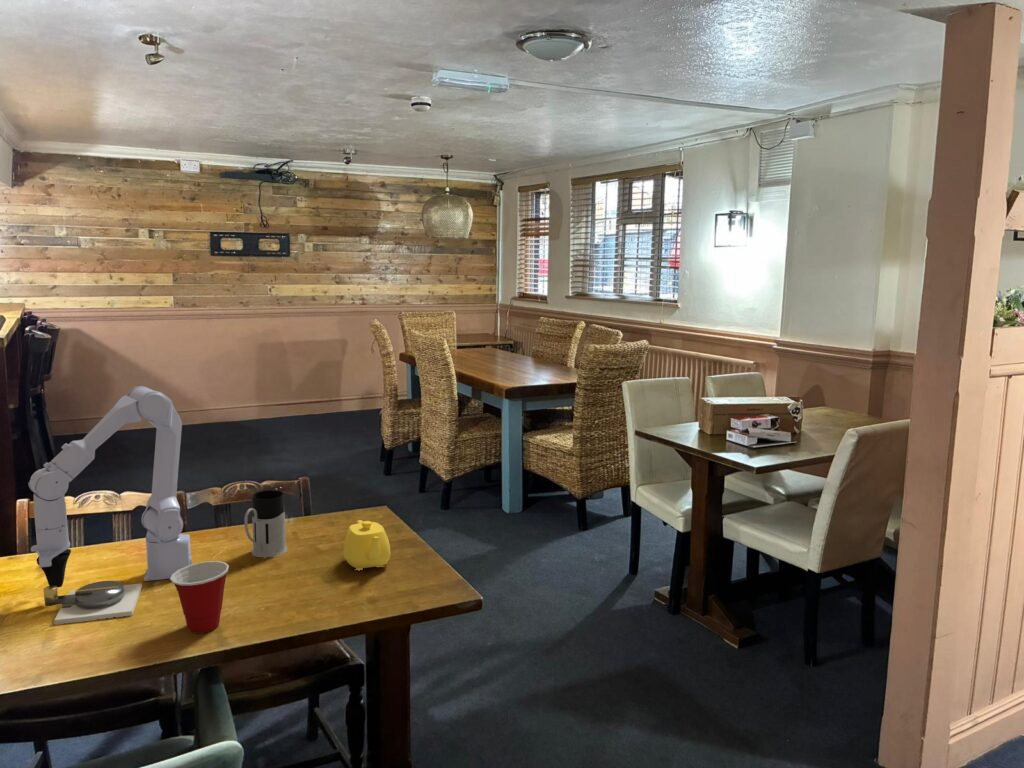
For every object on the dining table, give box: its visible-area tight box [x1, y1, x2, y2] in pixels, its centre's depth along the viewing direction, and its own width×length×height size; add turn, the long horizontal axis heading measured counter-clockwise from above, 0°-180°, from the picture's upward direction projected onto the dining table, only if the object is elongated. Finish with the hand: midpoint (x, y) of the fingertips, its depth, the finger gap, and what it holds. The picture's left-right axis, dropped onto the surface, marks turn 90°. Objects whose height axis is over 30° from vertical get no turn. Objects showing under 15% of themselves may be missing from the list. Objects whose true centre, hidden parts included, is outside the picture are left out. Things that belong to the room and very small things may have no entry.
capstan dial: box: [43, 580, 125, 608], centre depth 156 cm, size 15×9×4 cm, turn 108°
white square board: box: [53, 583, 143, 626], centre depth 157 cm, size 14×14×1 cm
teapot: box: [342, 519, 391, 569], centre depth 180 cm, size 18×11×11 cm, turn 25°
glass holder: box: [243, 489, 288, 559], centre depth 185 cm, size 9×14×15 cm, turn 166°
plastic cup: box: [169, 560, 230, 634], centre depth 148 cm, size 11×11×12 cm
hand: (56, 586), depth 158 cm, fingers closed
